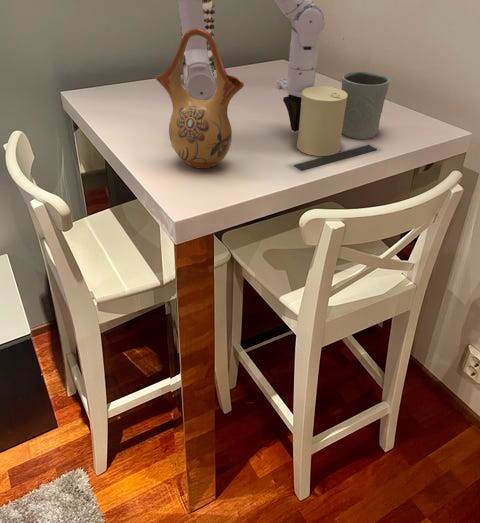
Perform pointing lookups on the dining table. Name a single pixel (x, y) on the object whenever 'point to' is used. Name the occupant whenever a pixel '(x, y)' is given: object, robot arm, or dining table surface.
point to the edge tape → (334, 157)
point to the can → (321, 120)
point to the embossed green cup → (363, 103)
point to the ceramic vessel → (199, 111)
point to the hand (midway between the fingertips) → (296, 130)
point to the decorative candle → (206, 27)
